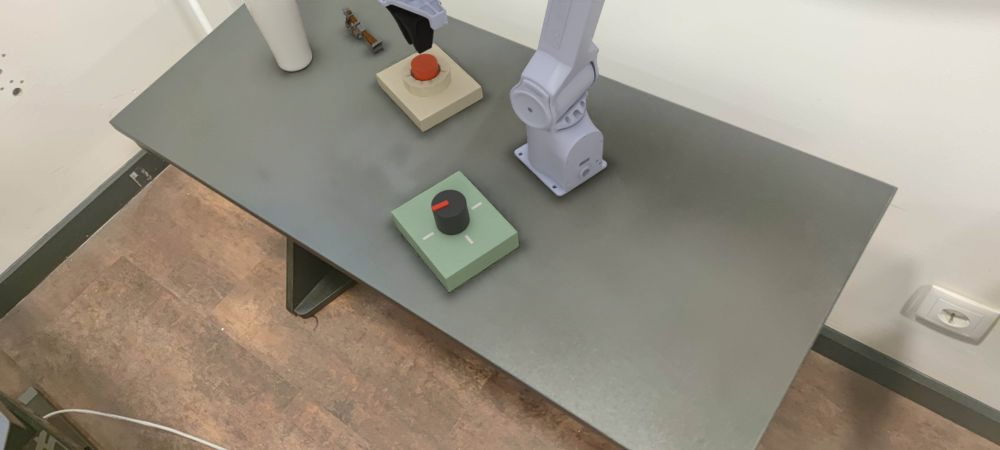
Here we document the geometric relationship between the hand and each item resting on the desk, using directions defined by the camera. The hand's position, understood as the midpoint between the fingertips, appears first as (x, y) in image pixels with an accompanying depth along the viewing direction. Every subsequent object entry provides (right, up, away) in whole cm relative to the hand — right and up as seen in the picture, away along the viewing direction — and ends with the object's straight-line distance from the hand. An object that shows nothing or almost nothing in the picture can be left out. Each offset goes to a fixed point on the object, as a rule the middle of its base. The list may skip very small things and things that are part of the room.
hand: (419, 45), depth 92 cm
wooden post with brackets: (-10, +4, +15) cm, 18 cm away
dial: (+5, -23, -10) cm, 26 cm away
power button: (0, -3, +4) cm, 5 cm away
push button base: (+1, -5, +7) cm, 8 cm away
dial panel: (+5, -25, -8) cm, 27 cm away
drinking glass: (-20, +1, +13) cm, 24 cm away
